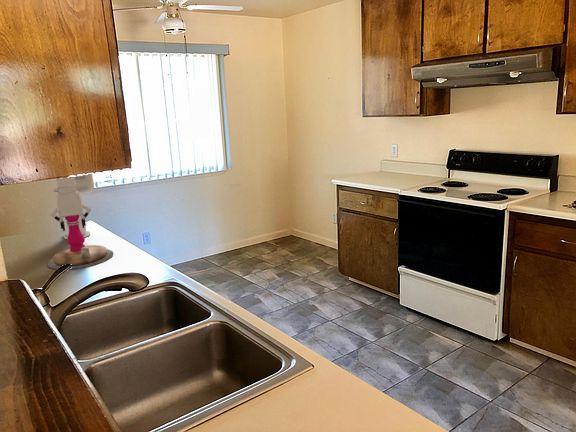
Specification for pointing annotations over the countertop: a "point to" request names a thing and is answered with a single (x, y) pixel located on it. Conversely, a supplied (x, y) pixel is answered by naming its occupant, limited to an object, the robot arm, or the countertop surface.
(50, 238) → the countertop surface
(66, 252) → the turntable
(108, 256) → the base
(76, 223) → the pepper mill
